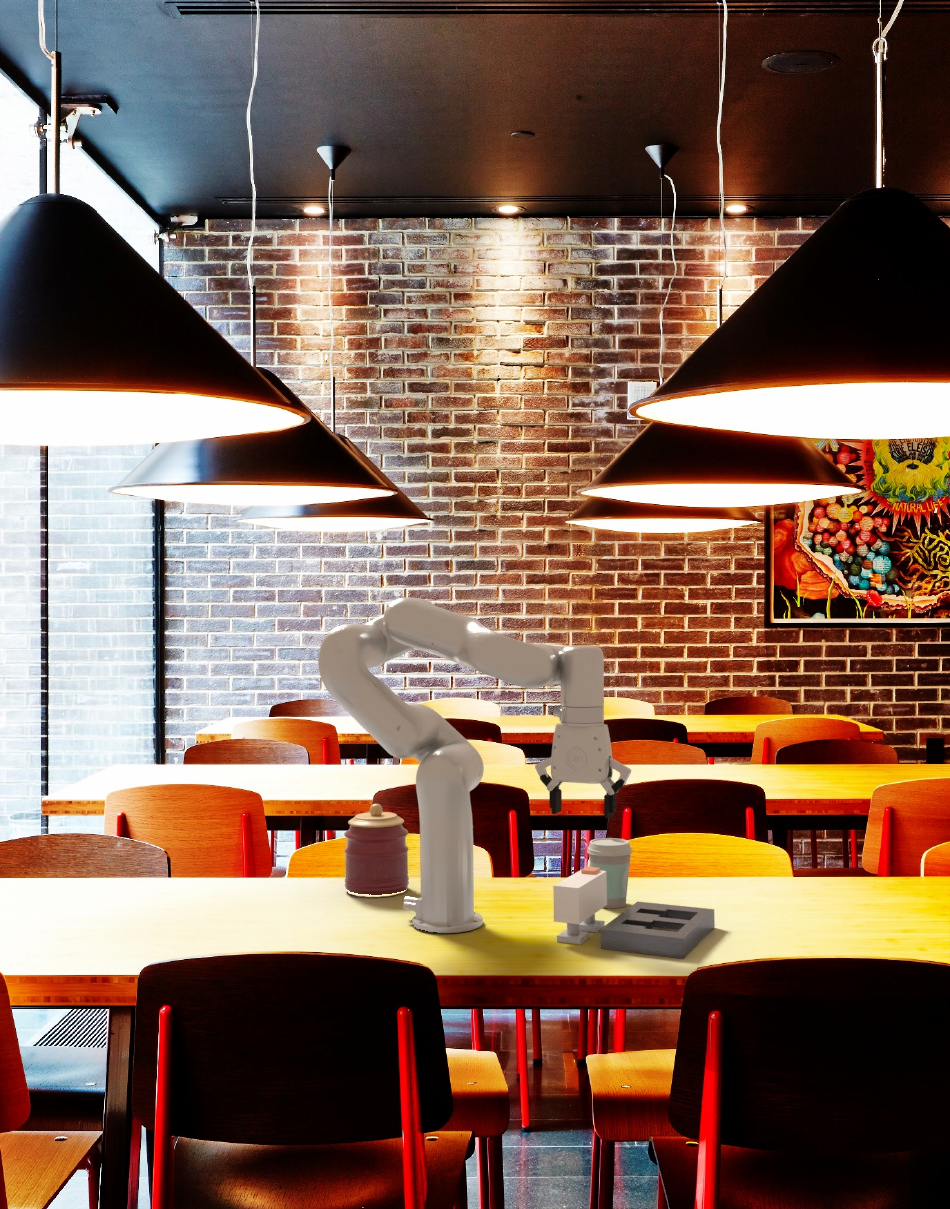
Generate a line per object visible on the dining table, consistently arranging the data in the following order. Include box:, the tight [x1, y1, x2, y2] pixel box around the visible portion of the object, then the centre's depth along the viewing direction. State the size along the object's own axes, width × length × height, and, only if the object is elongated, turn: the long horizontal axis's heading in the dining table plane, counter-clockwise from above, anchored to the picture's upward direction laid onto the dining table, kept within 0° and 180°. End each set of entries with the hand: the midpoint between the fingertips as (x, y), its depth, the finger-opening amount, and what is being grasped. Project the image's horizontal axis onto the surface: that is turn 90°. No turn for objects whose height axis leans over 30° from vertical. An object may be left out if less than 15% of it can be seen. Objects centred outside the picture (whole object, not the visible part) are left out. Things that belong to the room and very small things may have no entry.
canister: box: [343, 803, 410, 895], centre depth 225 cm, size 13×13×18 cm
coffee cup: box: [586, 837, 633, 909], centre depth 211 cm, size 8×9×12 cm
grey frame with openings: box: [599, 901, 716, 960], centre depth 189 cm, size 14×20×3 cm
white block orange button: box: [552, 866, 607, 945], centre depth 192 cm, size 4×14×10 cm, turn 154°
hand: (582, 815), depth 193 cm, fingers open, 9 cm apart
